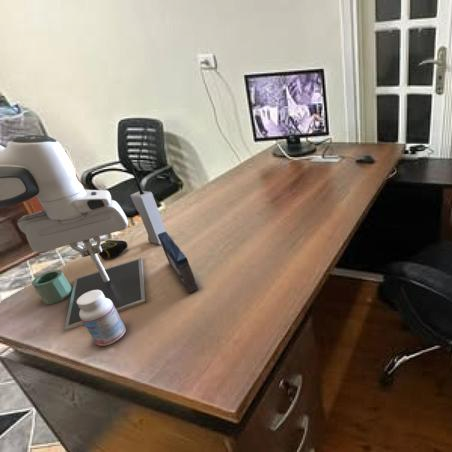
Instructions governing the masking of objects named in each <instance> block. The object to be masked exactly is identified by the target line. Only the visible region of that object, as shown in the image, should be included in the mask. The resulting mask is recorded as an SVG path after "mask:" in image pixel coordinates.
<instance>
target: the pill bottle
mask: <svg viewBox="0 0 452 452" xmlns="http://www.w3.org/2000/svg"><path fill="white" fill-rule="evenodd" d="M77 304H78V306H79V308H80V312H79V316H80V318H81V320H82V322H83V323H84V327H85V328H86V330H87V332H88V333H89V335H90V337H91V338H92V340H93V342H94V343H95V344H96V346H99V347H105V346H110V345H112V344H114V343H116V342H117V341H119V340H120V339H121V338H122V337H123V336H124V335H125V333H126V330H127V329H126V325H125V324H124V322H123V320H122V318H121V316H120V314H119V312H117V310H116V308H115V306H114V305H113V303H112V301H111V300H110V299H108V298H105V296H104V294H103V293H102V291H100V290H92V291H89V292H87V293H85V294H83V295H81V296H80V297H79V298H78V299H77Z"/></svg>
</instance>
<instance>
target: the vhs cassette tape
mask: <svg viewBox="0 0 452 452" xmlns="http://www.w3.org/2000/svg"><path fill="white" fill-rule="evenodd" d="M158 237H159V240H160V242H161V245H160V246H161V247H162V250H163V252H164V255H165V256H166V259H167V261H168V263H169V265H170V267H171V268H172V271H174V273H175V275H176V277H177V278H178V279H179V281H180V283H181V284H182V285H183V287H184V288H185V290H186V291H187V292H188V294H191V293H194V292H196V291H197V290H199V287H198V284H197V281H196V279H195V276H194V273H193V270H192V268H191V265H190V263H189V260H188V258H187V256H186V255H185V254H184V252H183V251H182V250H181V249H180V247H179V246H178V245H177V244H176V242H175V241H174V240H173V238H172V237H171V236H170V235H169V234H168V232H167V231H166V232H163V233H160V234H158Z"/></svg>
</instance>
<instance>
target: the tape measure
mask: <svg viewBox="0 0 452 452" xmlns="http://www.w3.org/2000/svg"><path fill="white" fill-rule="evenodd" d="M100 246H101V248H102V252H100V253H97V255H99V257H100V258H102V259H110V258H111V259H112V258H114V257H117V256H119V255H121V254H122V253H123V252H124V251H125V250H127V248H128V246H129V245H128V243H127V241H126V240H119V239H118V240H117V239H107V240H106V241H105V242H103V243H100Z"/></svg>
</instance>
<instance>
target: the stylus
mask: <svg viewBox="0 0 452 452" xmlns="http://www.w3.org/2000/svg"><path fill="white" fill-rule="evenodd" d="M82 244H83V245H84V248H86V249H87V250H88V253H89V254H90V256H89V257H90V259H91V260H92V263H93V264H94V266H95V268H96V270H97V272H99V273H100V275H101V277H102V279H103V281H104V282H107V281H109V280H110V279H109V277H108V275H107V273H106V271H105V269H106V268H105V267H104V266H103V264H102V262H101V260H100V258H99V256H98V253H97V254H95V253H94V251H93V244H92V242H91V239H88V240H85V241H82Z"/></svg>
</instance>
